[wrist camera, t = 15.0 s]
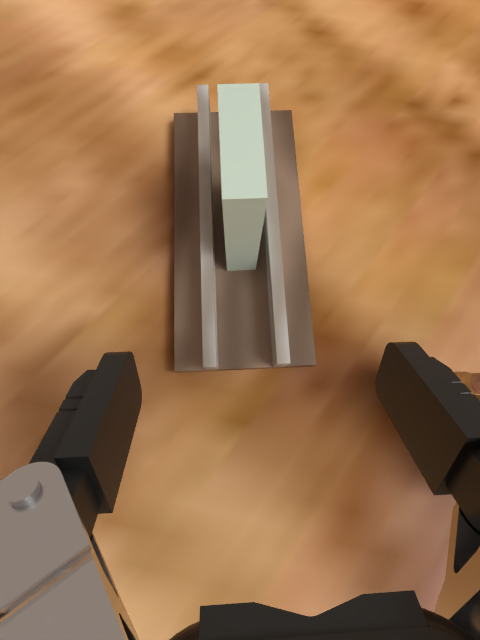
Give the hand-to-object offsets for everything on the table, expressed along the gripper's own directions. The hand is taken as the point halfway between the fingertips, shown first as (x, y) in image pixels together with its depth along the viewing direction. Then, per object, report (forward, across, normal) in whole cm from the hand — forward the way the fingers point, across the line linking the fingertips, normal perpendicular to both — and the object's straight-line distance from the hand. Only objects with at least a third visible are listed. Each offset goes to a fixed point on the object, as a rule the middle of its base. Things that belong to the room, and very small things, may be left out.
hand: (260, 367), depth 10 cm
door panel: (+22, 0, +2) cm, 22 cm away
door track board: (+23, 0, +3) cm, 23 cm away
